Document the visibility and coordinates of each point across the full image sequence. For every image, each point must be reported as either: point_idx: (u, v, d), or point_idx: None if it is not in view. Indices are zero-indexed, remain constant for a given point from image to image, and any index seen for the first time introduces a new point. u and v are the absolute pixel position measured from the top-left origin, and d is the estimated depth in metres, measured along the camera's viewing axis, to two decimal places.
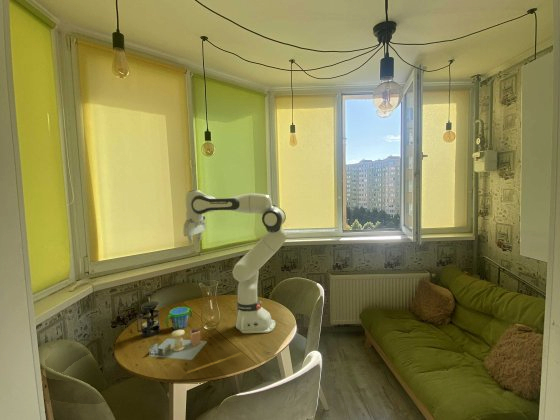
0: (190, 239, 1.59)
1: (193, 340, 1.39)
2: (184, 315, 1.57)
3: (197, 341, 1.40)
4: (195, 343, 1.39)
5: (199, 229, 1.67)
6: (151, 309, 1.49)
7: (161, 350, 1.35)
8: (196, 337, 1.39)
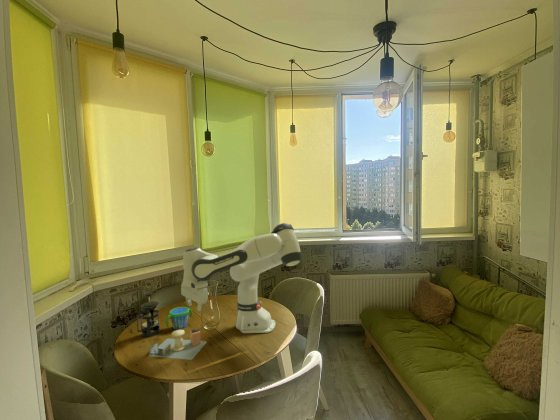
0: None
1: (193, 340, 1.39)
2: (184, 315, 1.57)
3: (197, 341, 1.40)
4: (195, 343, 1.39)
5: (193, 296, 1.37)
6: (151, 309, 1.49)
7: (161, 350, 1.35)
8: (196, 337, 1.39)
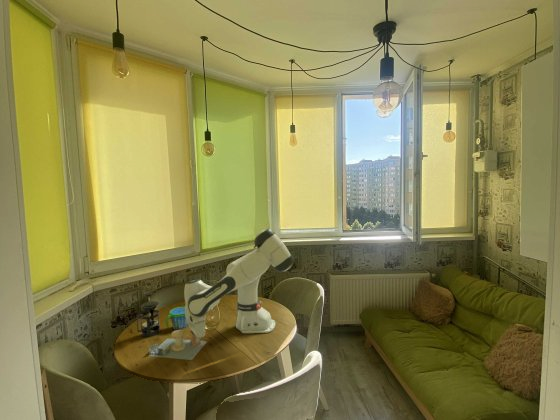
0: None
1: (193, 340, 1.39)
2: (184, 315, 1.57)
3: None
4: (195, 343, 1.39)
5: (193, 328, 1.38)
6: (151, 309, 1.49)
7: (161, 350, 1.35)
8: None
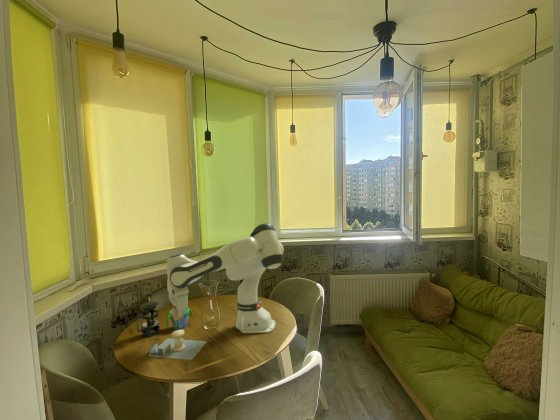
0: None
1: (175, 314, 1.38)
2: (184, 315, 1.57)
3: None
4: (177, 317, 1.39)
5: (175, 302, 1.37)
6: (151, 309, 1.49)
7: (161, 350, 1.35)
8: None
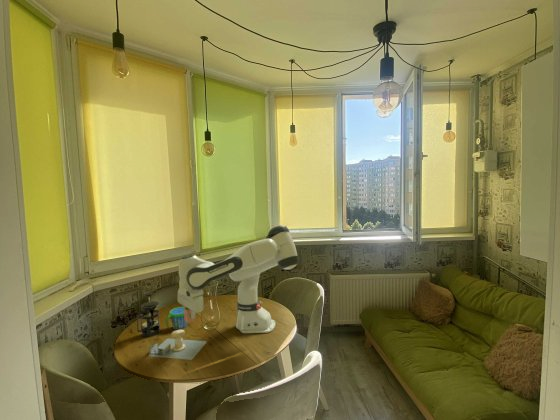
0: None
1: (188, 317, 1.36)
2: None
3: None
4: (190, 320, 1.37)
5: (188, 304, 1.35)
6: (151, 309, 1.49)
7: (161, 350, 1.35)
8: None
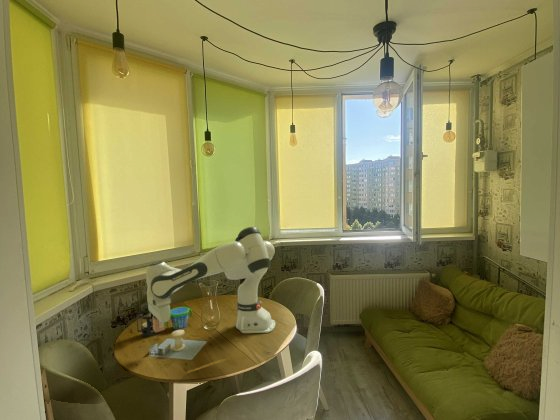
0: None
1: (156, 326, 1.31)
2: (184, 315, 1.57)
3: None
4: (158, 329, 1.31)
5: (156, 313, 1.29)
6: None
7: (161, 350, 1.35)
8: None
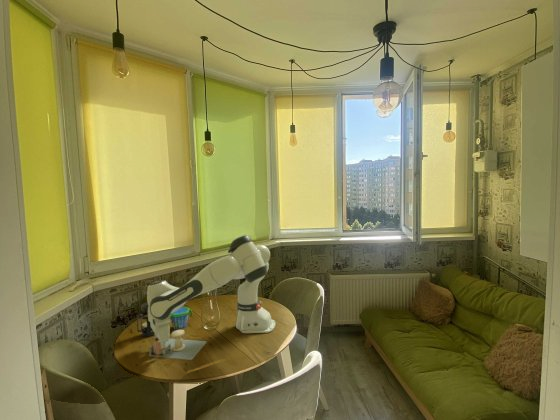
0: None
1: (157, 349, 1.31)
2: (184, 315, 1.57)
3: (161, 350, 1.32)
4: (159, 352, 1.32)
5: (156, 332, 1.30)
6: None
7: None
8: None
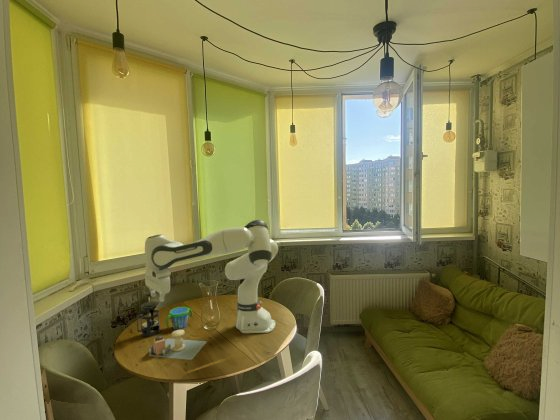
0: None
1: (157, 349, 1.31)
2: (184, 315, 1.57)
3: (161, 350, 1.32)
4: (159, 352, 1.32)
5: (155, 286, 1.29)
6: (151, 309, 1.49)
7: None
8: (160, 346, 1.32)
